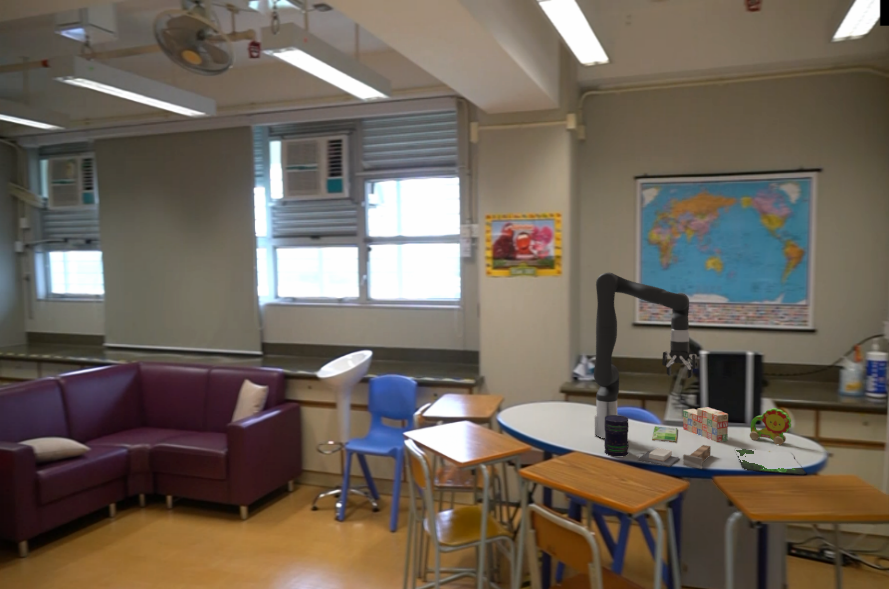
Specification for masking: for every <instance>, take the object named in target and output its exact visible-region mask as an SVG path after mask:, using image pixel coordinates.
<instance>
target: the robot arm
mask: <svg viewBox="0 0 889 589" xmlns="http://www.w3.org/2000/svg"><path fill="white" fill-rule="evenodd" d="M595 288H596V289H595V290H596V298H597V299H596V301H597V302H596V303H597V307H596V318H595V319H596V322H595V361H594V362H595V363H594V369H593V379H594V381H595V383H596V384H597V385H598V386H599V387H598V390H597V392H596V398H595V399H596V415H594V436H595V435H597V436H599V437H602V438H605V429H604V428H605V426H604V423H605V417H606V416H609V415H618V395H619V392H620V373H619V370H618V367H617V366H615V365H614V364H612V357H613V352H614V349H615V346H616V343H617V337H618V319H617V314H616V309H615V308H616V307H615V298H616V297H615V296H616V293H619V294H623V295H624V294H625V295H628V296H631V297H634V298H637V299H639V300H642V301H645V302H646V303H652V304H655V305H661V306H664V307H666V308H669V309H671V310H672V313H671V314H672V315H671V319H670V320H671V321H670V324H671V325H670V335H669V336H670V340H669V342H670V344H669V345H670V348H669V349H670V351H667V350H666V351H663V352H662V361H661V362H662V363H661V365H662V366H665V367H666V375H667V376H668V377H670V376H672V365H673V364H682V365H683V364H684V365H685V366H686V367H687V379H691V378H692V377H693V375H694V374H693V373H694V372H693V370H695V369H697V368H698V355H697V353H693V354H691V353H690V332H689V328H690V327H689V326H690V325H689V322H690V321H689V311H690V299H689V297H688V296H687V294H685V293H683V292H679V293H677V292H676V293H675V292H671V291H668V290H666V289H664V288H661V287H657V286H652V285H648V284H644V283H640V282H635V281H632V280H629V279H626V278H624V277H621V276H620V275H617V274H615V273H613V272H604V273H601V274H600V275H599V276H598V277H597V279H596V281H595ZM668 357H670V358H671V359H670V360H669V361H668ZM689 359H691V360H692V362H690V360H689ZM691 363H692V364H691ZM597 436H596V437H597ZM599 437H598V438H599ZM602 438H601V439H602Z"/></svg>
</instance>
